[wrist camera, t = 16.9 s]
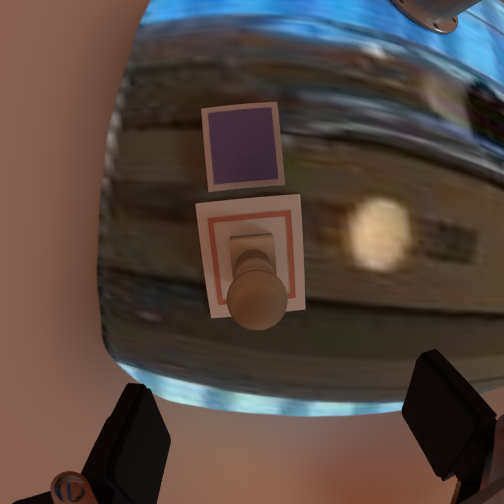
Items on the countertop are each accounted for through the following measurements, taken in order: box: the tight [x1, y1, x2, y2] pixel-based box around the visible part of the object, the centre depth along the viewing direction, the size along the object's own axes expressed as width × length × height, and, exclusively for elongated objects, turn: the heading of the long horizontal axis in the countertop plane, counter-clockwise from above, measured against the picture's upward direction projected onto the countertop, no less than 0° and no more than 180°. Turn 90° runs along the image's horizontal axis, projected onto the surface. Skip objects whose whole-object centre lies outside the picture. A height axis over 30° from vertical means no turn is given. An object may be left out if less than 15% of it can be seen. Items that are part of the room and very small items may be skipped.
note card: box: [196, 194, 305, 318], centre depth 28 cm, size 12×10×1 cm
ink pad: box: [201, 102, 285, 192], centre depth 25 cm, size 8×7×2 cm
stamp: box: [227, 233, 288, 330], centre depth 22 cm, size 5×4×12 cm
